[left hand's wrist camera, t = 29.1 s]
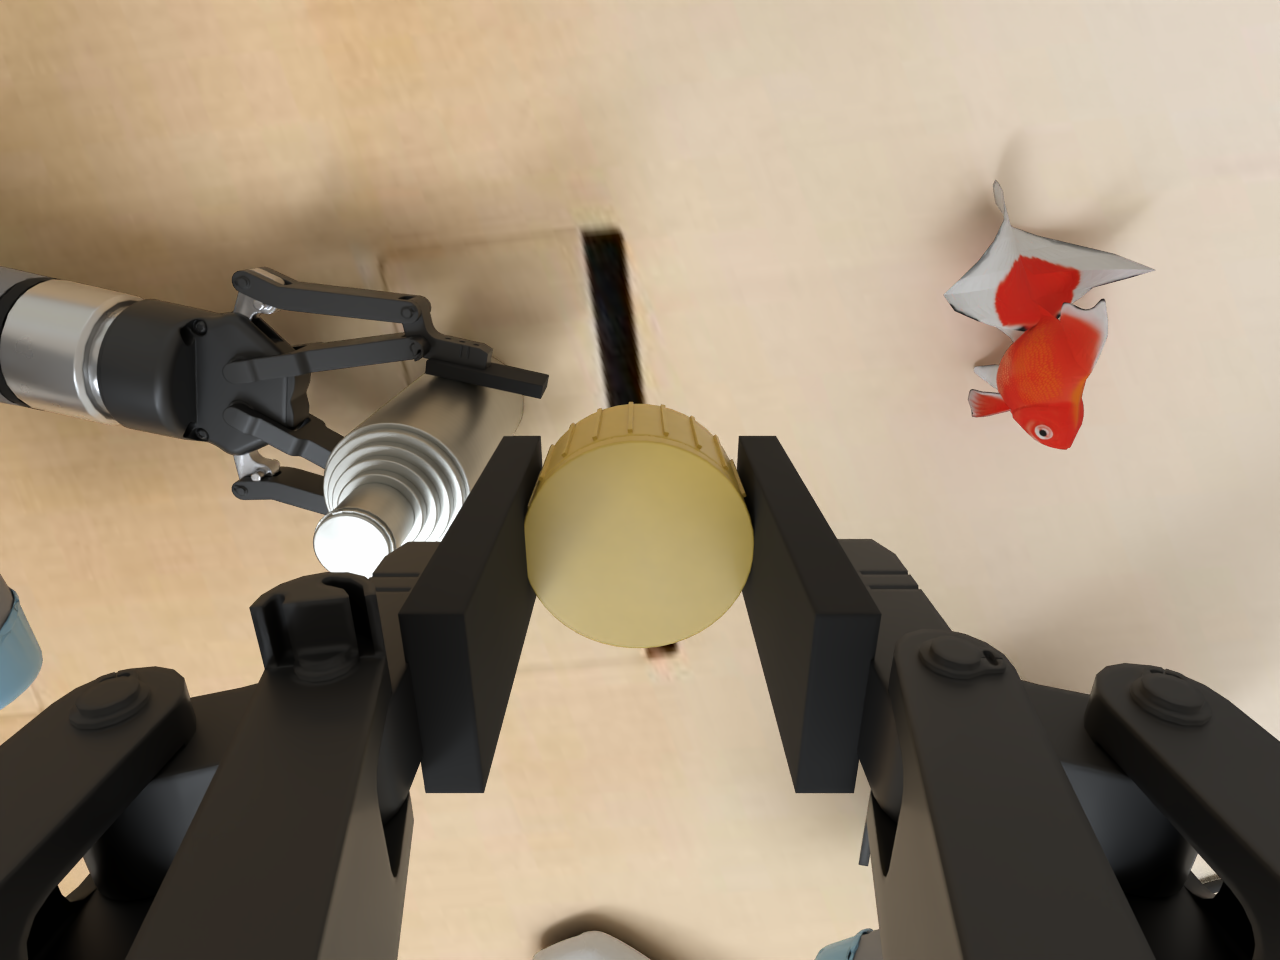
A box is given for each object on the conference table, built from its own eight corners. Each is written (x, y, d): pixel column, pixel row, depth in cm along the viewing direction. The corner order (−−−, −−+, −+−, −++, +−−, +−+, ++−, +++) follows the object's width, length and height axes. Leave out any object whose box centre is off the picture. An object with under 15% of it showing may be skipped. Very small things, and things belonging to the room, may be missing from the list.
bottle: (535, 436, 47) (461, 605, 27) (442, 456, 47) (303, 636, 28) (507, 341, 44) (404, 450, 25) (409, 363, 45) (231, 487, 25)
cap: (523, 406, 13) (501, 445, 11) (738, 393, 13) (757, 430, 11) (548, 591, 15) (533, 656, 13) (739, 580, 15) (757, 644, 13)
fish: (898, 460, 42) (1039, 440, 33) (880, 216, 43) (1013, 129, 34) (1027, 456, 46) (1188, 438, 37) (1009, 232, 47) (1161, 157, 38)
